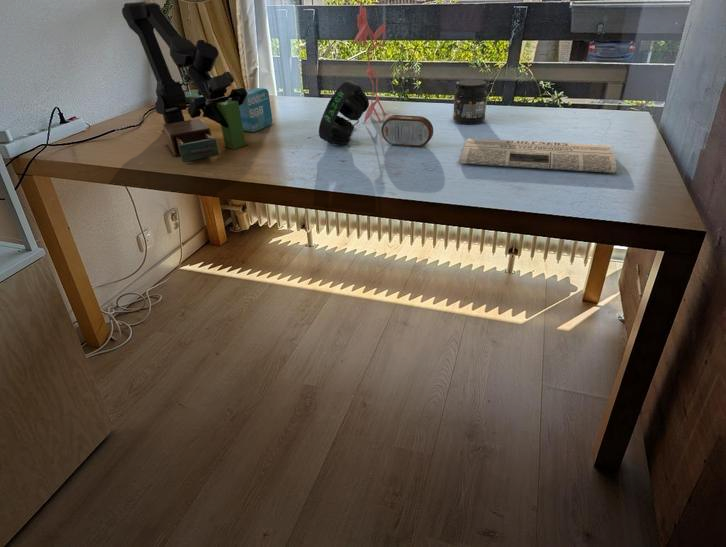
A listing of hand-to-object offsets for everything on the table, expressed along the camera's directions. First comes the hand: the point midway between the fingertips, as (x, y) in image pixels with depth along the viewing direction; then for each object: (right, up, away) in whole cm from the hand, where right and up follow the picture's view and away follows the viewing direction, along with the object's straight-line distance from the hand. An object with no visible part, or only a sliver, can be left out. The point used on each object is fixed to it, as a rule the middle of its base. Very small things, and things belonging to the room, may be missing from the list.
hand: (234, 125), depth 146 cm
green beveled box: (-1, -5, +4) cm, 7 cm away
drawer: (-9, -10, -4) cm, 14 cm away
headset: (+31, -4, +4) cm, 32 cm away
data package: (+3, +5, +20) cm, 21 cm away
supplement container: (+74, +6, +16) cm, 76 cm away
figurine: (+39, +10, +25) cm, 47 cm away
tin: (+51, -7, -2) cm, 52 cm away
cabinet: (-15, -5, +5) cm, 17 cm away
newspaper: (+84, -14, -16) cm, 87 cm away
